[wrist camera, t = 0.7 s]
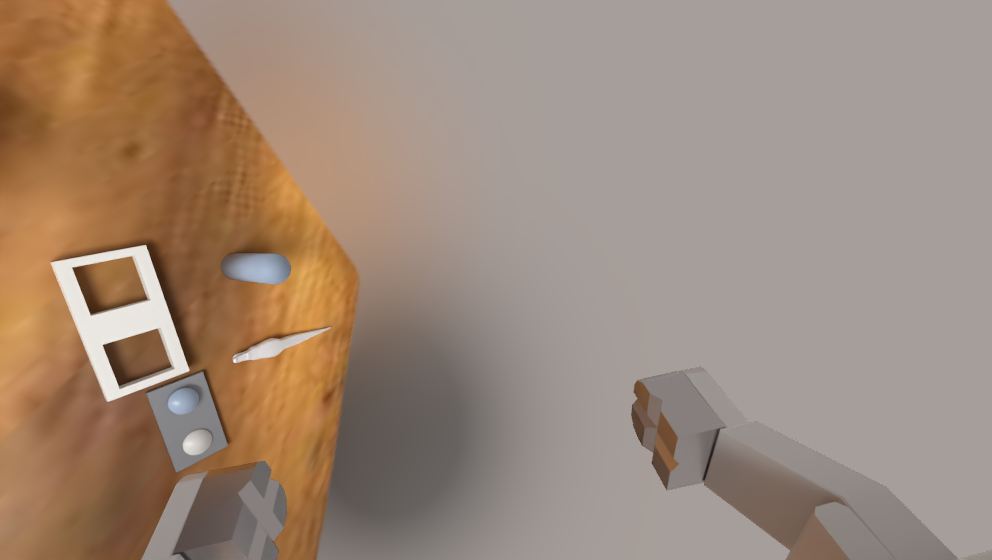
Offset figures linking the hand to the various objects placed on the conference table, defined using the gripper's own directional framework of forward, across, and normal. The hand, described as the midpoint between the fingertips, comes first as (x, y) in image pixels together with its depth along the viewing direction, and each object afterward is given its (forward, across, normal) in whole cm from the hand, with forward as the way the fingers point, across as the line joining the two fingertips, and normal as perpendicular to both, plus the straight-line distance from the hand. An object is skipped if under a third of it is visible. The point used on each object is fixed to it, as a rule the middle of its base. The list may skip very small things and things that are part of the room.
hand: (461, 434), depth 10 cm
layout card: (+38, -36, -34) cm, 62 cm away
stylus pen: (+48, -26, -32) cm, 64 cm away
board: (+41, -37, -20) cm, 59 cm away
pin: (+50, -28, -20) cm, 61 cm away
